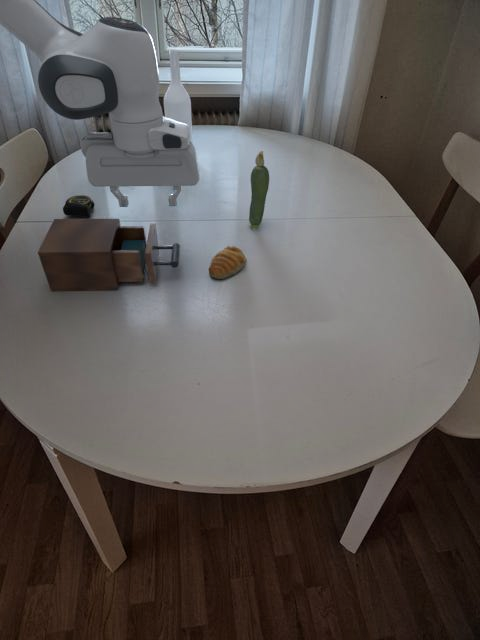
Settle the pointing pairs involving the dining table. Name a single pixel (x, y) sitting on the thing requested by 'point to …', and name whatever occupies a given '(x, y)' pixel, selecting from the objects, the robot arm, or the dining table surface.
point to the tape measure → (79, 206)
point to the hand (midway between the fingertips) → (148, 205)
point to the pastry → (227, 262)
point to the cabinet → (80, 255)
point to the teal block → (135, 248)
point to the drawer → (129, 260)
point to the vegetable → (258, 191)
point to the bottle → (177, 96)
